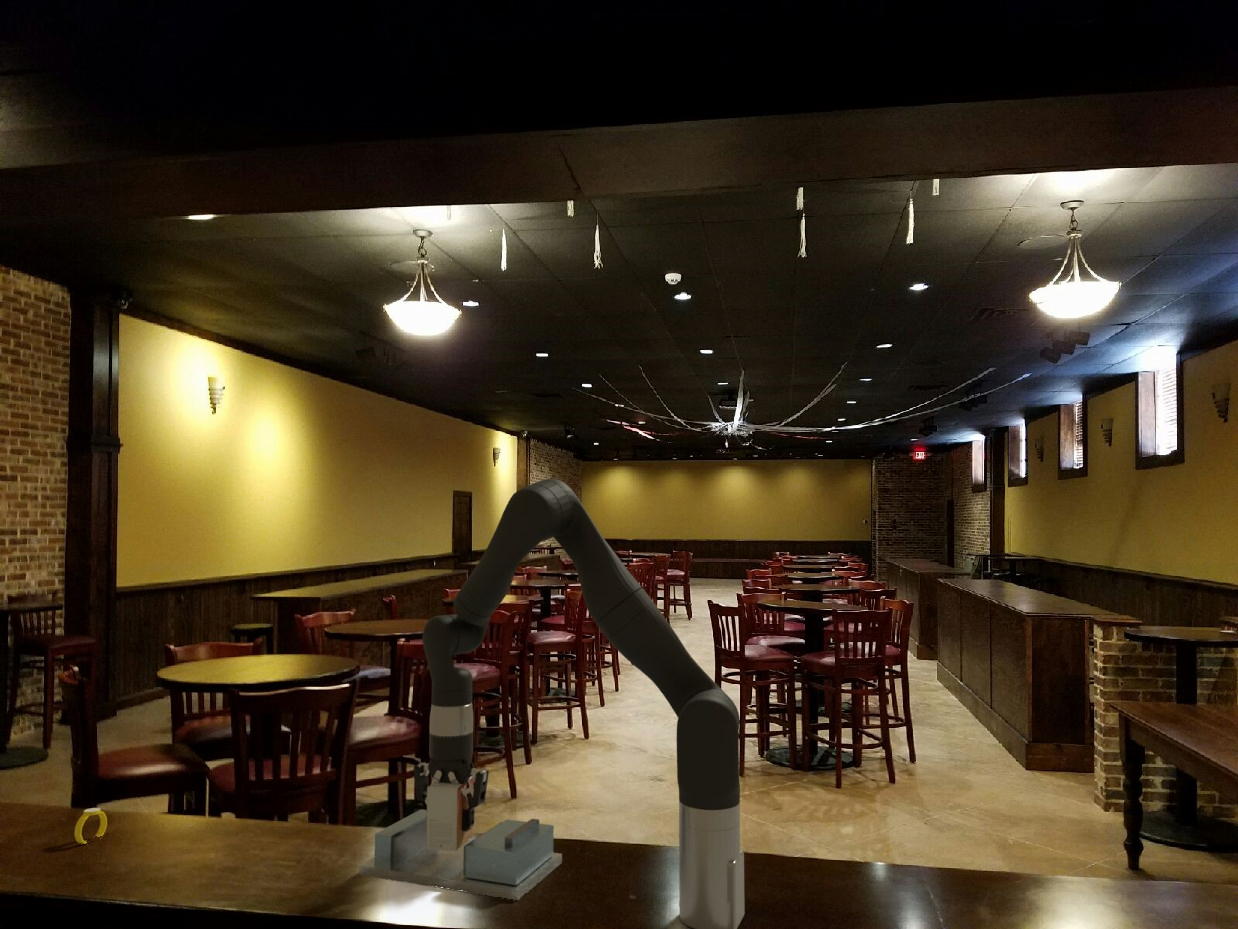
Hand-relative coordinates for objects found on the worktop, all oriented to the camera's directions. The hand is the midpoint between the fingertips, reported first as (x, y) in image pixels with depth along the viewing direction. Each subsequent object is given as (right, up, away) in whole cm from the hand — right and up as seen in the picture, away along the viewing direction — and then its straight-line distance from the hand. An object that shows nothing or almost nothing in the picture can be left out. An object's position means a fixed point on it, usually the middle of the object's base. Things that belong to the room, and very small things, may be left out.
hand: (450, 827), depth 152 cm
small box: (0, -3, 0) cm, 3 cm away
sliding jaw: (+11, -5, -4) cm, 12 cm away
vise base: (+3, -6, -2) cm, 7 cm away
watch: (-70, -8, +12) cm, 71 cm away
